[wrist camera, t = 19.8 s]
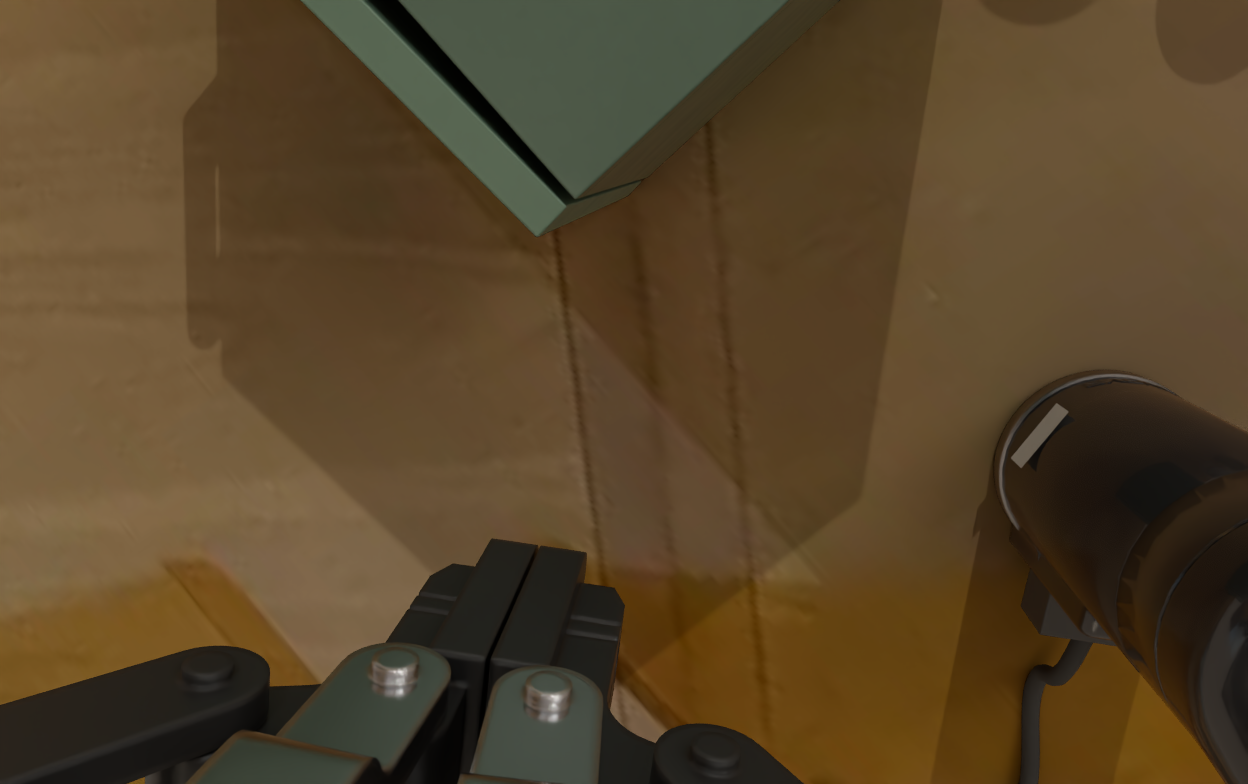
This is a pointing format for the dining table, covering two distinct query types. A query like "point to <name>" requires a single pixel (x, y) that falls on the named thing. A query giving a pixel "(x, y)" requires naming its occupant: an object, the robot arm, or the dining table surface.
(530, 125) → the cupboard
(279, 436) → the dining table surface
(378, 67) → the door
